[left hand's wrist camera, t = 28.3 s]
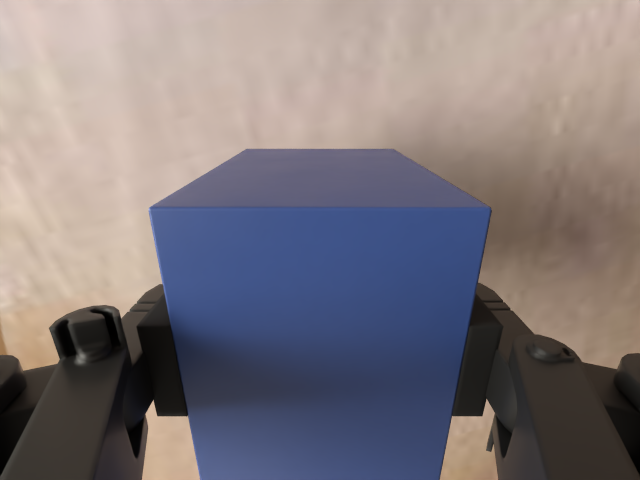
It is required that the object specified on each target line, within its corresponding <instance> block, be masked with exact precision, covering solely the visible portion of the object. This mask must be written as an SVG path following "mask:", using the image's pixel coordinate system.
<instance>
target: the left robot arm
mask: <svg viewBox="0 0 640 480" xmlns="http://www.w3.org/2000/svg"><path fill="white" fill-rule="evenodd" d="M49 329H50V332H51V335H52V338H53V341H54V344H55V346H56V349H57V352H58V355H59V358H60V360H59V362H58V364H55V365H50V366H45V367H40V368H35V369H30V370H25V371H23V370H22V367H21V365H20V362H19V360H18V359H17V358H15V357H14V356H11V355H0V480H142V473H143V465H144V457H145V449H146V442H147V434H148V424H147V419H146V415H145V413H146V412H147V410H148V408H149V406H150V405H151V403H152V401H153V399H154V404H155V408H156V412H157V416H188V413H187V407H186V402H185V397H184V392H183V387H182V381H181V376H180V371H179V366H178V361H177V355H176V350H175V345H174V340H173V335H172V329H171V324H170V319H169V314H168V309H167V303H166V298H165V293H164V288H163V284H159V285H158V286H156V287H154V288H153V289H151V290H149V291H147V292H146V293H145V294H144V295H143V296H142V297H141V298H140V299H139V300H138V301H137V304H135V305H134V306H133V307H132V308H131V309H130V312H127V313H126V314H125V315H124V316H123V318H122V319H121V317H120V313H119V310H118V309H116V308H115V307H113V306H106V305H101V306H91V307H87V308H83V309H79V310H76V311H74V312H71V313H69V314H66V315H65V316H63V317H62V318H60V319H58V320H57V321H55V322H54V323H53V324H52V325H51V326H50V328H49ZM486 398H487V400H488V401H489V403H490V405H491V407H492V408H493V410H494V412H495V415H494V419H493V423H492V427H491V431H490V435H489V439H488V443H487V449H486V451H490V452H491V451H492V447H493V444H494V449H495V456H496V464H497V472H498V480H640V353H635V354H627V355H625V356H624V357H622V359H621V361H620V364H619V366H618V369H613V368H608V367H603V366H598V365H593V364H588V363H584V362H581V360H580V358H579V357H578V356H577V354H576V353H575V352H574V351H573V350H572V349H570V348H569V347H567V346H566V345H565V344H563V343H561V342H559V341H556V340H554V339H552V338H549V337H545V336H541V335H535V334H534V333H533V332H532V331H531V330H530V329H529V328H528V327H527V326H526V325H525V324H524V323H523V322H522V320H521V319H520V318H519V317H518V316H517V315H516V314H515V313H514V312H513V311H511V310H510V308H509V307H508V306H507V304H506V303H503V300H502V299H501V298H500V297H499V296H498V295H497V294H496V293H495V292H494V291H493V290H491V289H489V288H488V287H486V286H484V285H483V284H481V283H478V284H477V289H476V294H475V299H474V305H473V310H472V315H471V320H470V325H469V330H468V335H467V341H466V346H465V351H464V356H463V361H462V366H461V372H460V377H459V382H458V387H457V392H456V397H455V402H454V408H453V413H452V416H482V415H483V411H484V407H485V403H486Z"/></svg>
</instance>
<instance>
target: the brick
mask: <svg viewBox="0 0 640 480" xmlns="http://www.w3.org/2000/svg"><path fill="white" fill-rule="evenodd" d="M491 212H492V210H491V207H489V206H487V205H486V204H484V203H482V202H481V201H479V200H477V199H476V198H474V197H472V196H471V195H469V194H467V193H466V192H464V191H462V190H461V189H459V188H457V187H456V186H454V185H452V184H451V183H449V182H447V181H446V180H444V179H442V178H441V177H439V176H437V175H436V174H434V173H432V172H431V171H429V170H427V169H426V168H424V167H422V166H421V165H419V164H417V163H416V162H414V161H412V160H411V159H409V158H407V157H406V156H404V155H403V154H401V153H399V152H398V151H396V150H394V149H246V150H244V151H243V152H241V153H239V154H238V155H236V156H234V157H233V158H231V159H229V160H228V161H226V162H224V163H223V164H221V165H219V166H218V167H216V168H214V169H213V170H211V171H209V172H208V173H206V174H204V175H203V176H201V177H199V178H198V179H196V180H194V181H193V182H191V183H189V184H188V185H186V186H184V187H183V188H181V189H179V190H178V191H176V192H174V193H173V194H171V195H169V196H168V197H166V198H164V199H163V200H161V201H159V202H158V203H156V204H154V205H153V206H151V207H149V215H150V220H151V225H152V230H153V236H154V241H155V246H156V251H157V257H158V262H159V267H160V272H161V277H162V283H163V288H164V293H165V298H166V303H167V309H168V314H169V319H170V324H171V329H172V335H173V340H174V345H175V350H176V355H177V361H178V366H179V371H180V376H181V381H182V387H183V392H184V397H185V402H186V407H187V413H188V418H189V423H190V428H191V433H192V439H193V444H194V449H195V454H196V459H197V465H198V470H199V475H200V480H440V475H441V469H442V464H443V459H444V454H445V449H446V444H447V439H448V433H449V428H450V423H451V418H452V413H453V408H454V402H455V397H456V392H457V387H458V382H459V377H460V372H461V366H462V361H463V356H464V351H465V346H466V341H467V335H468V330H469V325H470V320H471V315H472V310H473V305H474V299H475V294H476V289H477V284H478V279H479V274H480V268H481V263H482V258H483V253H484V248H485V243H486V238H487V232H488V227H489V222H490V217H491Z"/></svg>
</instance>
